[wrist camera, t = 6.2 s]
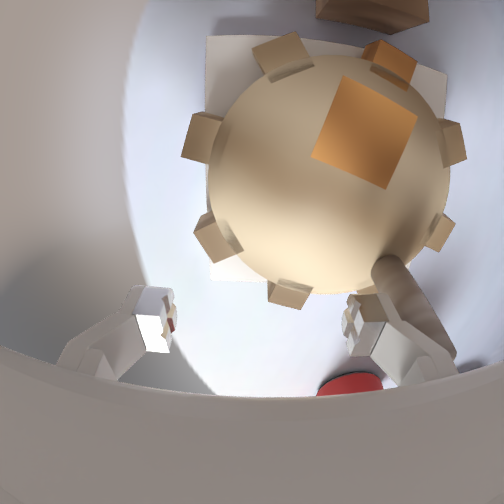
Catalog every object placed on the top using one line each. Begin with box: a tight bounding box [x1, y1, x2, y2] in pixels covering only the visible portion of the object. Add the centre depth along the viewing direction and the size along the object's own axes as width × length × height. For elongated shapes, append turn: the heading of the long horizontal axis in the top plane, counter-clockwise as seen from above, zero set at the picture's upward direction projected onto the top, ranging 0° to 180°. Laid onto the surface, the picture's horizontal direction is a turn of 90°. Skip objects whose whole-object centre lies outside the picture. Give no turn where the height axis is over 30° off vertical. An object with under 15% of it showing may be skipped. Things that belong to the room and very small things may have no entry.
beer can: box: [316, 372, 383, 396], centre depth 19 cm, size 7×7×12 cm
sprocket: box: [181, 31, 467, 361], centre depth 9 cm, size 13×13×8 cm
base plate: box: [205, 35, 447, 282], centre depth 13 cm, size 12×13×1 cm
